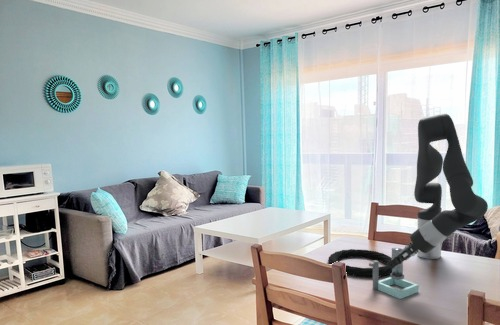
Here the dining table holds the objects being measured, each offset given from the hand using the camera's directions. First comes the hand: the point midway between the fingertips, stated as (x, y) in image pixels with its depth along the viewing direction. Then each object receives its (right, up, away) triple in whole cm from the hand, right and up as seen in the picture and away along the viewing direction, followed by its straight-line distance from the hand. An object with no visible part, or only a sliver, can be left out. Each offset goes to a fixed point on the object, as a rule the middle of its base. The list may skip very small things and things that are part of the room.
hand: (391, 264), depth 128 cm
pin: (+2, -4, -1) cm, 5 cm away
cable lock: (-2, -8, +24) cm, 26 cm away
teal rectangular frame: (0, -9, -1) cm, 9 cm away
